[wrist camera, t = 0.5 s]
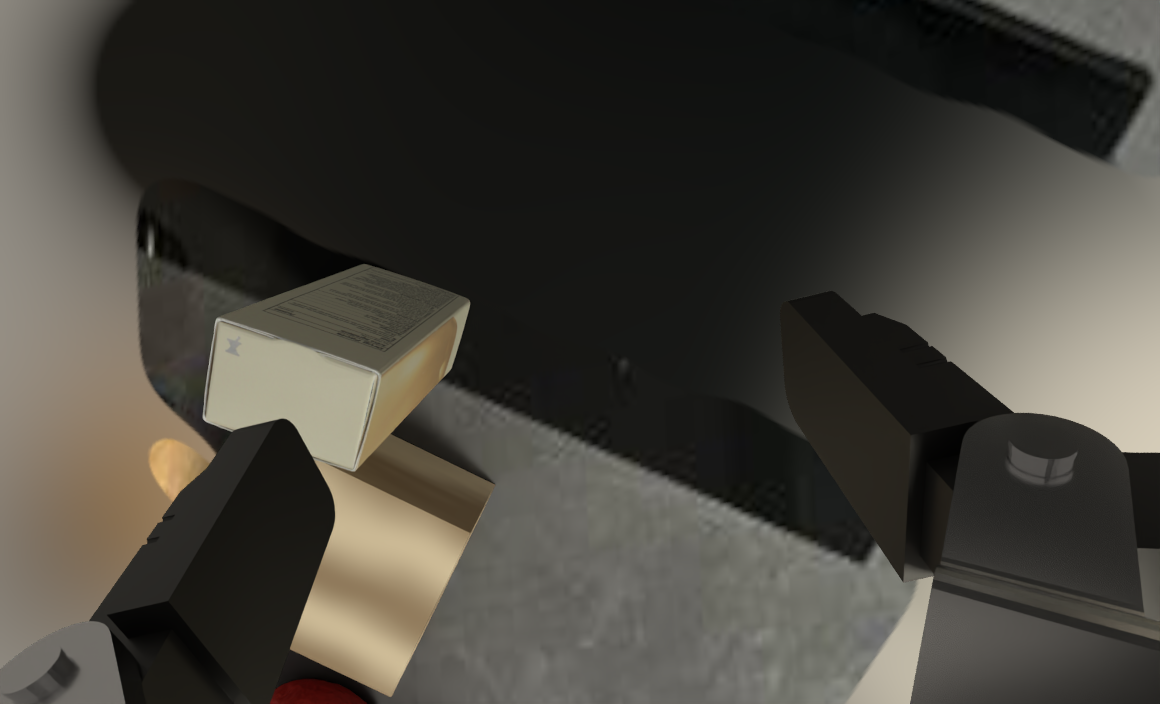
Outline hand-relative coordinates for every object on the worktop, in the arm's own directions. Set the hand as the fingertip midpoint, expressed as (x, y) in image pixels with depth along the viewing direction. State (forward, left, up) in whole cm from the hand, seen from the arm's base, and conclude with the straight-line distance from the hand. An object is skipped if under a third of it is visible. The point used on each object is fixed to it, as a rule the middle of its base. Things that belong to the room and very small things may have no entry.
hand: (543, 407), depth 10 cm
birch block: (+21, -6, -22) cm, 32 cm away
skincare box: (+8, -8, -22) cm, 25 cm away
